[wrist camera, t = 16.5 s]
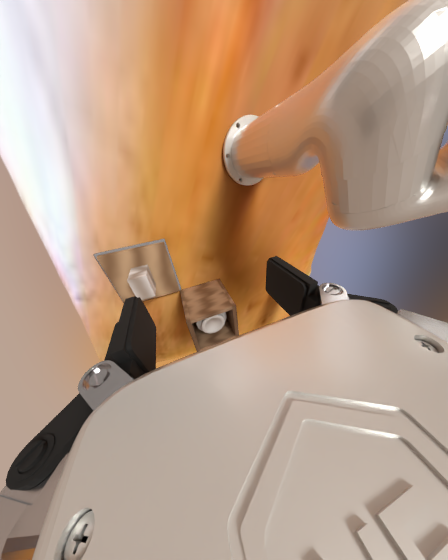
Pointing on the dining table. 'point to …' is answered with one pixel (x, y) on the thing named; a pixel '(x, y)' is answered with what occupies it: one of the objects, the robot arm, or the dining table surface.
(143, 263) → the lid
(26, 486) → the robot arm
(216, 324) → the coffee cup
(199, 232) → the dining table surface
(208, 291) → the box
